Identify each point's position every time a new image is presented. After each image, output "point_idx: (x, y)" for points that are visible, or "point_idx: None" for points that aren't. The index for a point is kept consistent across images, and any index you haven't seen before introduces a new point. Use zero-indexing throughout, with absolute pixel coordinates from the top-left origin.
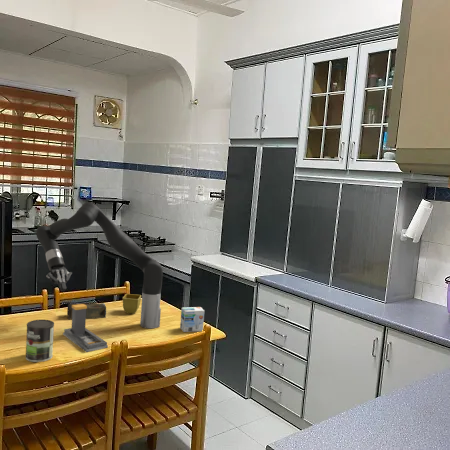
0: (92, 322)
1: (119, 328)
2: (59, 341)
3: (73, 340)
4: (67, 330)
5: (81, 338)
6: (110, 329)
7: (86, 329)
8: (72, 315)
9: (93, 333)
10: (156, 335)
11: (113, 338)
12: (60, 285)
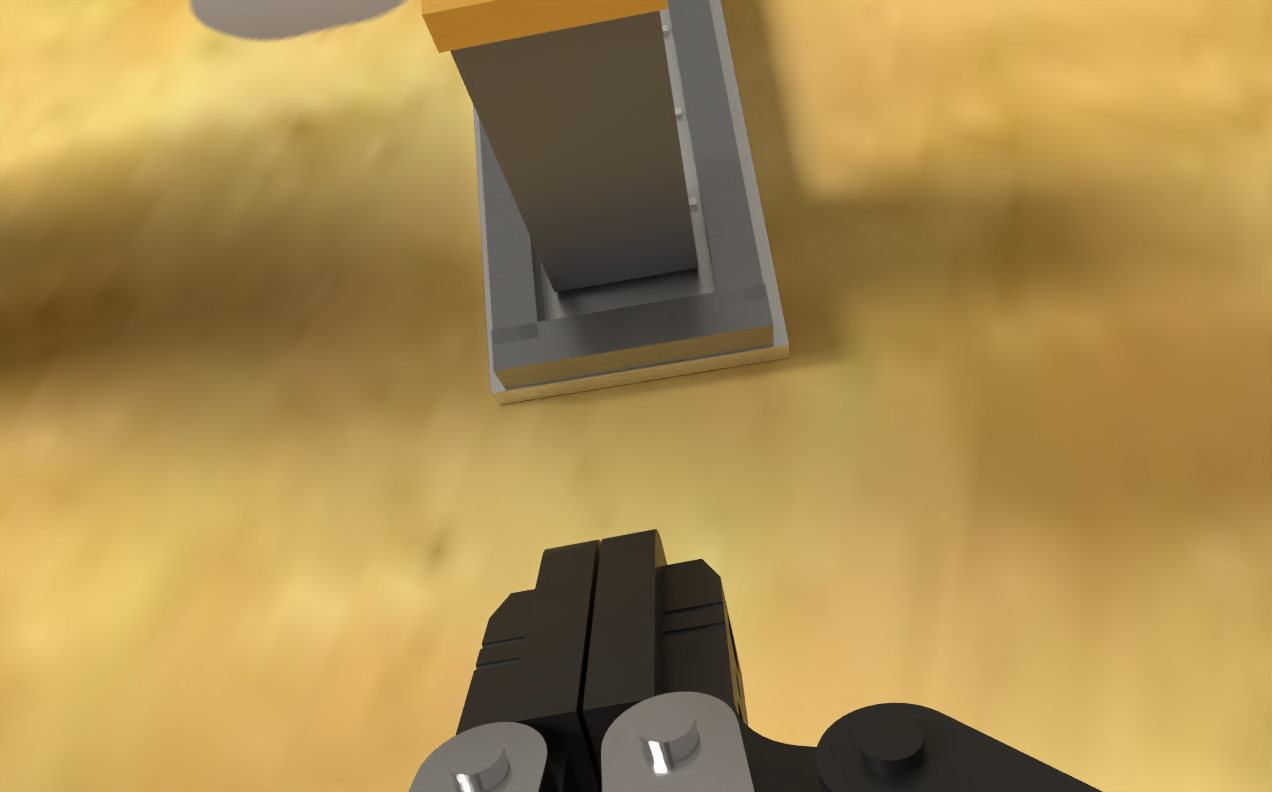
0: (235, 718)
1: (69, 352)
2: (880, 163)
3: (735, 78)
4: (745, 267)
5: None
6: (179, 353)
7: (501, 234)
8: (671, 92)
9: None
10: None
11: (302, 91)
12: (713, 648)
